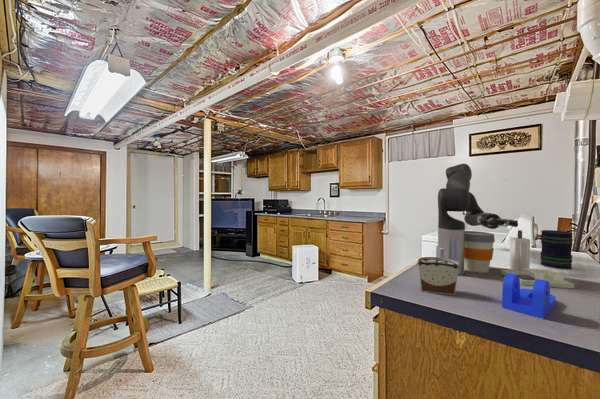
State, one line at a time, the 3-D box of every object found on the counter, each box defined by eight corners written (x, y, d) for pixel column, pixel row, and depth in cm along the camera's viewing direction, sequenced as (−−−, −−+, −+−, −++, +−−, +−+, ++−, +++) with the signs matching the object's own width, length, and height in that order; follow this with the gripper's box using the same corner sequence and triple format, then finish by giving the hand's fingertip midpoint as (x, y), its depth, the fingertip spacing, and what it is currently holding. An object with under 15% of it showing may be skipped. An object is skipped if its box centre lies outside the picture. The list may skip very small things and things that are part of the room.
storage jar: (538, 265, 114) (539, 231, 113) (541, 261, 120) (542, 229, 120) (571, 270, 106) (572, 234, 106) (572, 266, 113) (573, 231, 113)
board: (520, 284, 90) (521, 274, 90) (501, 273, 102) (501, 264, 102) (574, 288, 86) (574, 278, 86) (546, 276, 99) (547, 267, 99)
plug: (515, 271, 105) (516, 230, 104) (509, 268, 109) (510, 229, 109) (530, 272, 104) (531, 231, 103) (523, 269, 108) (524, 229, 108)
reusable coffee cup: (501, 274, 101) (502, 235, 100) (465, 273, 103) (466, 235, 102) (483, 265, 113) (484, 231, 113) (452, 264, 115) (453, 230, 115)
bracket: (542, 320, 65) (543, 283, 65) (502, 308, 72) (502, 275, 71) (558, 302, 76) (559, 271, 76) (521, 293, 82) (522, 264, 82)
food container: (455, 288, 86) (456, 258, 86) (460, 295, 80) (460, 263, 80) (414, 284, 90) (415, 255, 90) (416, 290, 84) (416, 259, 84)
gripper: (472, 212, 135) (487, 215, 119) (504, 213, 131) (524, 216, 116) (472, 227, 135) (487, 232, 119) (504, 228, 132) (523, 233, 116)
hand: (505, 224), depth 118 cm, fingers open, 8 cm apart
